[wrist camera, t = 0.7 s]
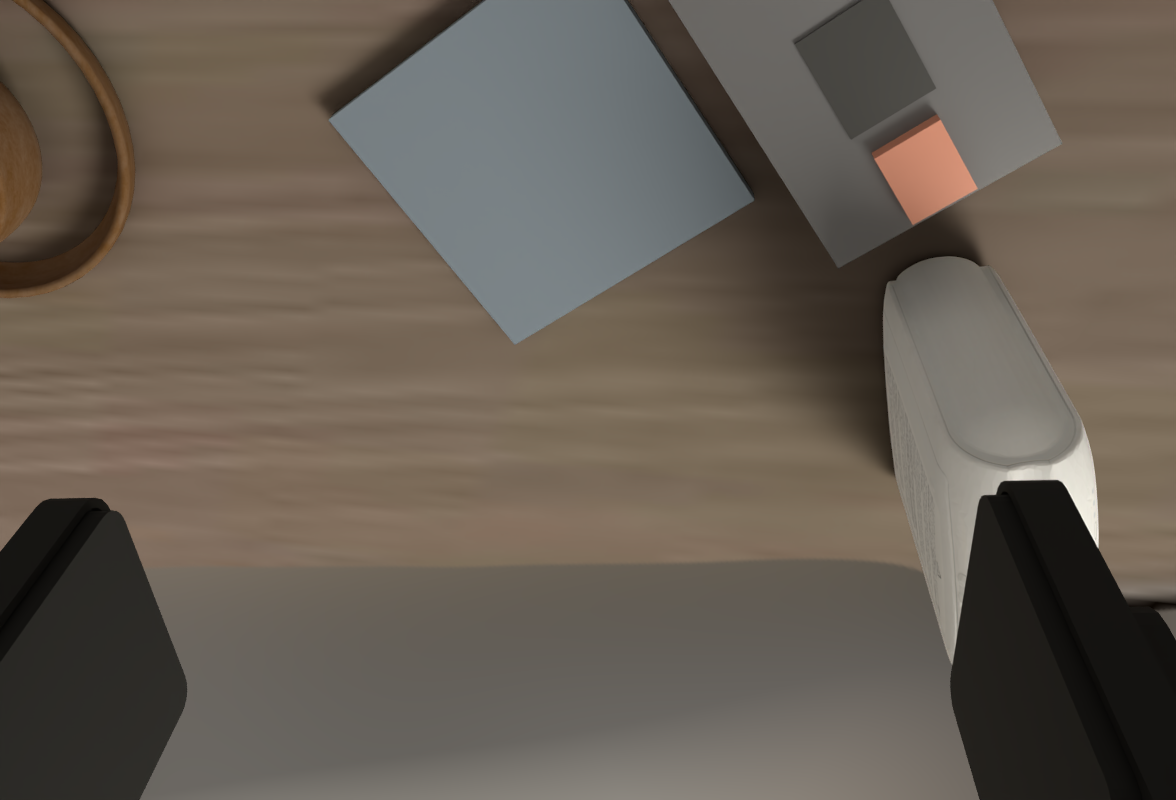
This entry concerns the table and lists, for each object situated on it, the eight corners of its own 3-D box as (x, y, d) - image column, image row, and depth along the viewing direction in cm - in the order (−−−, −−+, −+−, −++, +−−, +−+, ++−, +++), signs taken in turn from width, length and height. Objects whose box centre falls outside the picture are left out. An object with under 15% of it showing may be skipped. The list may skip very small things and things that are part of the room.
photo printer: (1004, 482, 41) (1116, 741, 31) (890, 496, 42) (962, 753, 31) (1001, 241, 36) (1134, 455, 25) (870, 262, 36) (949, 478, 26)
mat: (579, -74, 31) (578, -70, 31) (753, 193, 35) (754, 200, 35) (333, 114, 35) (328, 119, 34) (517, 336, 39) (514, 344, 38)
